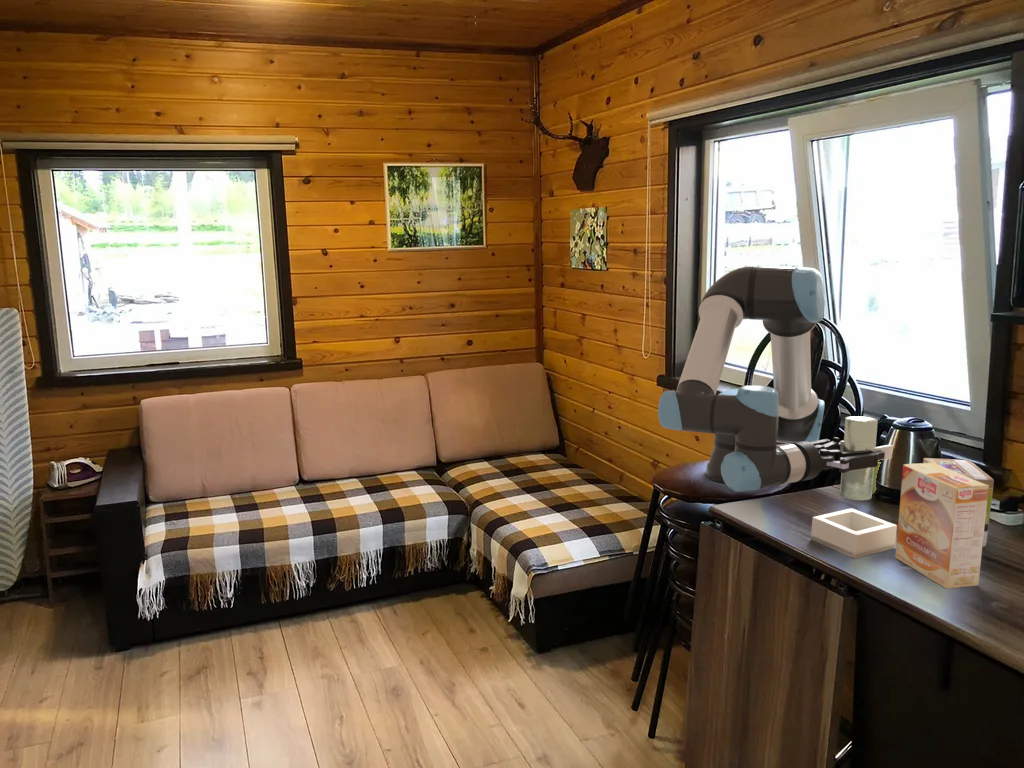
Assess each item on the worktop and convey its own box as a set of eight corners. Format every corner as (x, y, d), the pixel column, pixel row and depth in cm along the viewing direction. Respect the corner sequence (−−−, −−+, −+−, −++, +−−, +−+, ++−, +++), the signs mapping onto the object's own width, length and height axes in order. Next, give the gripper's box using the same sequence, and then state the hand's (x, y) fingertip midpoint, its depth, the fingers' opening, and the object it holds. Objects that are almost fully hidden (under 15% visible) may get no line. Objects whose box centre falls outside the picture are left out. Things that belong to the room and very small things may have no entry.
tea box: (988, 548, 170) (995, 479, 167) (935, 544, 172) (941, 476, 169) (964, 522, 184) (970, 458, 181) (915, 519, 186) (921, 456, 183)
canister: (833, 493, 171) (838, 418, 168) (854, 489, 174) (859, 415, 171) (857, 501, 166) (863, 424, 163) (878, 497, 169) (884, 421, 166)
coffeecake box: (893, 557, 165) (901, 463, 161) (925, 554, 167) (933, 461, 163) (945, 589, 151) (955, 487, 147) (980, 586, 152) (990, 484, 148)
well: (810, 539, 175) (812, 517, 174) (849, 530, 180) (851, 508, 179) (855, 558, 165) (856, 535, 164) (895, 548, 170) (896, 525, 169)
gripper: (757, 468, 169) (839, 454, 179) (830, 494, 153) (915, 477, 163) (759, 433, 168) (841, 420, 178) (833, 455, 151) (919, 440, 161)
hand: (876, 447), depth 170 cm, fingers closed on canister, 6 cm apart
